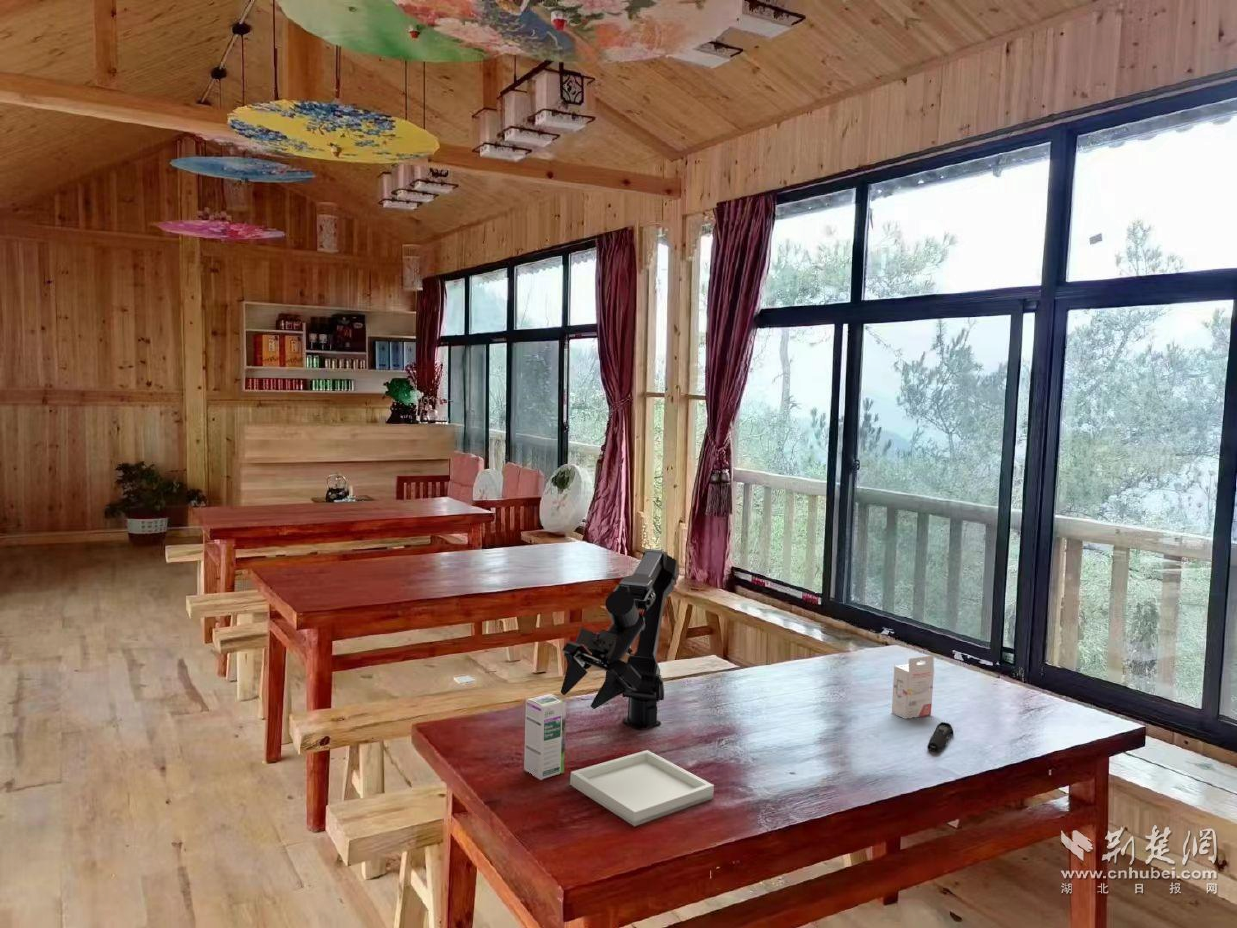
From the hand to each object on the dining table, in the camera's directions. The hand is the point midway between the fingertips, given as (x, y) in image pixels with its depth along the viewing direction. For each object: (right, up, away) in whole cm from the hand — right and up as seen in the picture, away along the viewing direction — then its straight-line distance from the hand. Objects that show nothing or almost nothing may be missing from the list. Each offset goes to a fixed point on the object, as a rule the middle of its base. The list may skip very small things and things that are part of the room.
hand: (577, 700), depth 172 cm
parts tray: (+12, -15, -8) cm, 21 cm away
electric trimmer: (+80, -16, +23) cm, 84 cm away
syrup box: (-6, -14, -1) cm, 15 cm away
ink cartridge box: (+79, -14, +40) cm, 90 cm away
